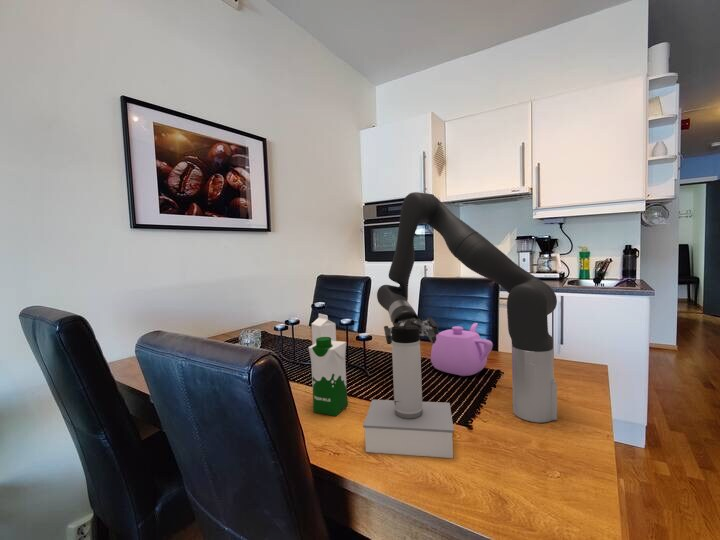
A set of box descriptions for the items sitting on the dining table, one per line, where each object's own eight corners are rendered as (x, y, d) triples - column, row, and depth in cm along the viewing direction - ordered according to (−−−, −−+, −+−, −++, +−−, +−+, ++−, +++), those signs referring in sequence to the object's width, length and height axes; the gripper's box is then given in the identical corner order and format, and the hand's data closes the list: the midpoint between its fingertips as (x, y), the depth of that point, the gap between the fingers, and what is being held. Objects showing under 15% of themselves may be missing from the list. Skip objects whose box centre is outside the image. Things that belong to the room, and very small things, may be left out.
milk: (323, 382, 113) (319, 316, 112) (314, 377, 118) (310, 314, 117) (338, 378, 117) (335, 314, 116) (329, 373, 122) (325, 311, 120)
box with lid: (450, 427, 82) (449, 402, 82) (454, 459, 70) (453, 430, 69) (373, 423, 85) (372, 399, 85) (364, 452, 73) (362, 425, 73)
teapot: (481, 385, 105) (479, 337, 105) (424, 370, 121) (422, 328, 120) (511, 366, 121) (510, 323, 120) (457, 354, 136) (456, 317, 136)
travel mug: (390, 417, 75) (386, 327, 74) (398, 404, 82) (395, 321, 80) (418, 422, 73) (415, 329, 72) (425, 408, 79) (422, 322, 78)
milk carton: (308, 413, 92) (304, 339, 91) (325, 399, 100) (322, 331, 99) (337, 418, 88) (333, 342, 87) (352, 403, 97) (349, 333, 96)
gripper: (377, 309, 101) (387, 336, 86) (424, 300, 102) (443, 325, 87) (381, 332, 104) (392, 362, 88) (427, 322, 104) (445, 350, 89)
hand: (417, 343), depth 87 cm, fingers open, 8 cm apart
